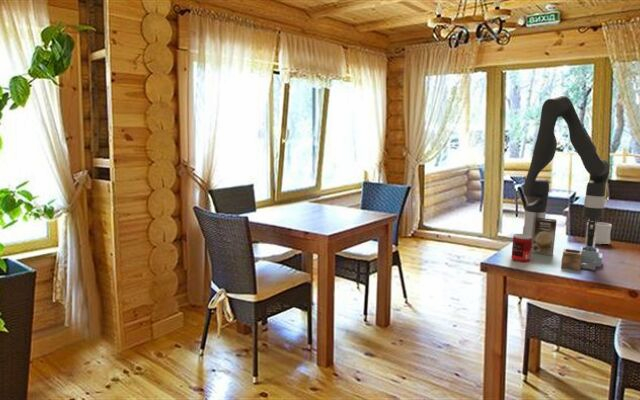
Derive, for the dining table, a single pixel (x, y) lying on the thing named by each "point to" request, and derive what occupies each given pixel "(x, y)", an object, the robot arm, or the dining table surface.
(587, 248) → the peg
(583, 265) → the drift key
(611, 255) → the dining table surface
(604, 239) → the mug
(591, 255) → the block
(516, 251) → the canned food
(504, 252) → the dining table surface
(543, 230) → the coffee box
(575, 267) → the socket block
